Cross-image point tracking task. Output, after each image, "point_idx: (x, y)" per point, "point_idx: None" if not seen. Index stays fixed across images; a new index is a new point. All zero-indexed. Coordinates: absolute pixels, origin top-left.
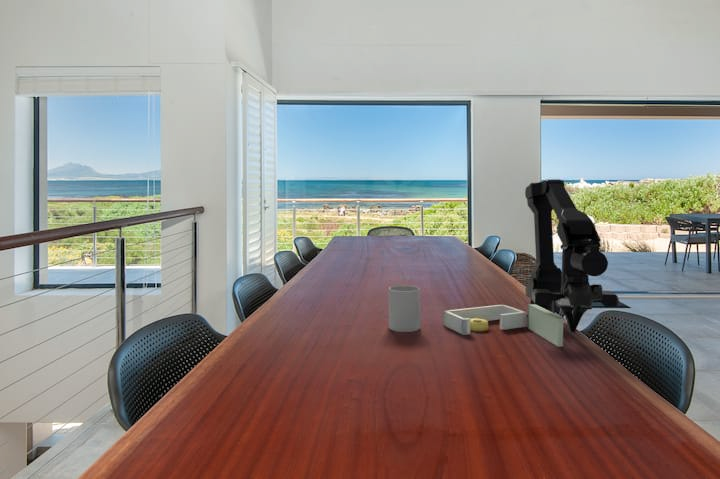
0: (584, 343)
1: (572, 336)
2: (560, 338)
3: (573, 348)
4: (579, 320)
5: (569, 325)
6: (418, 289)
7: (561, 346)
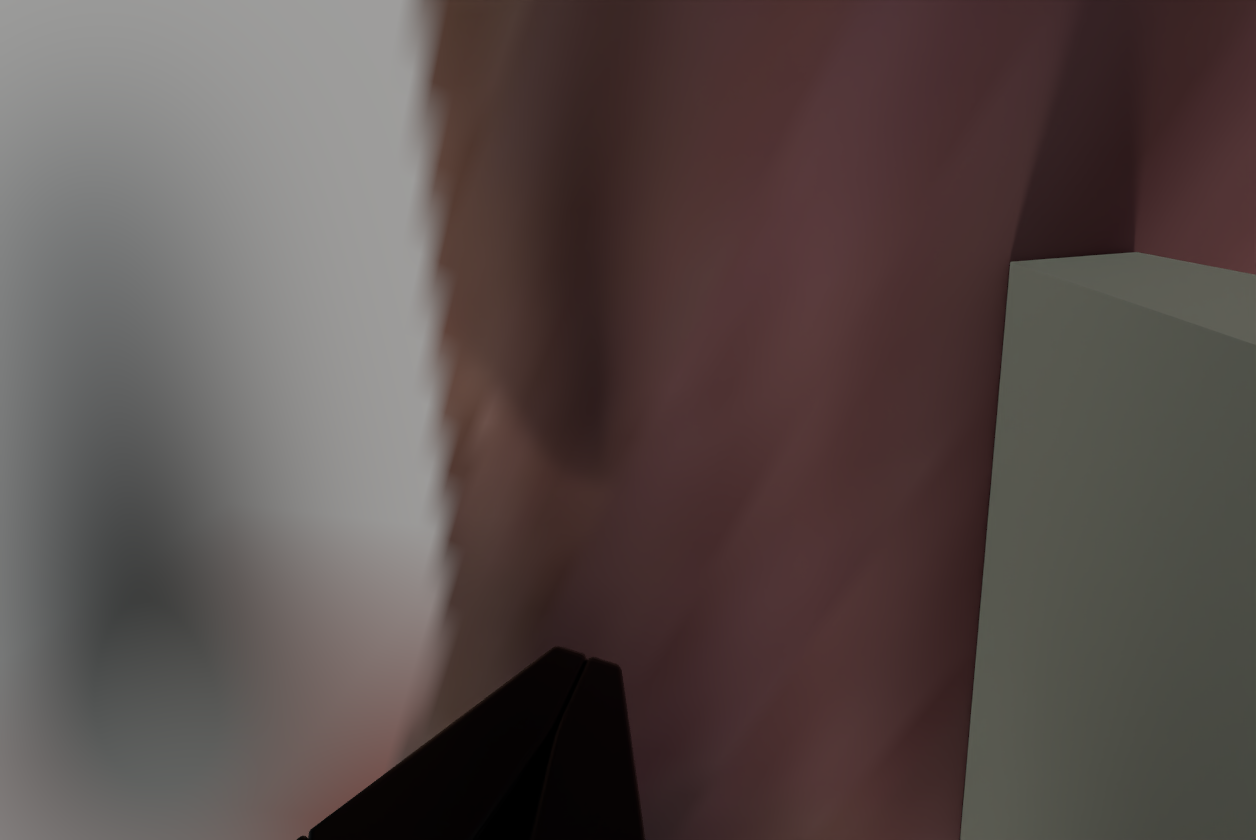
0: (500, 413)
1: None
2: (1171, 285)
3: (838, 133)
4: (318, 835)
5: (638, 792)
6: None
7: (1038, 261)
